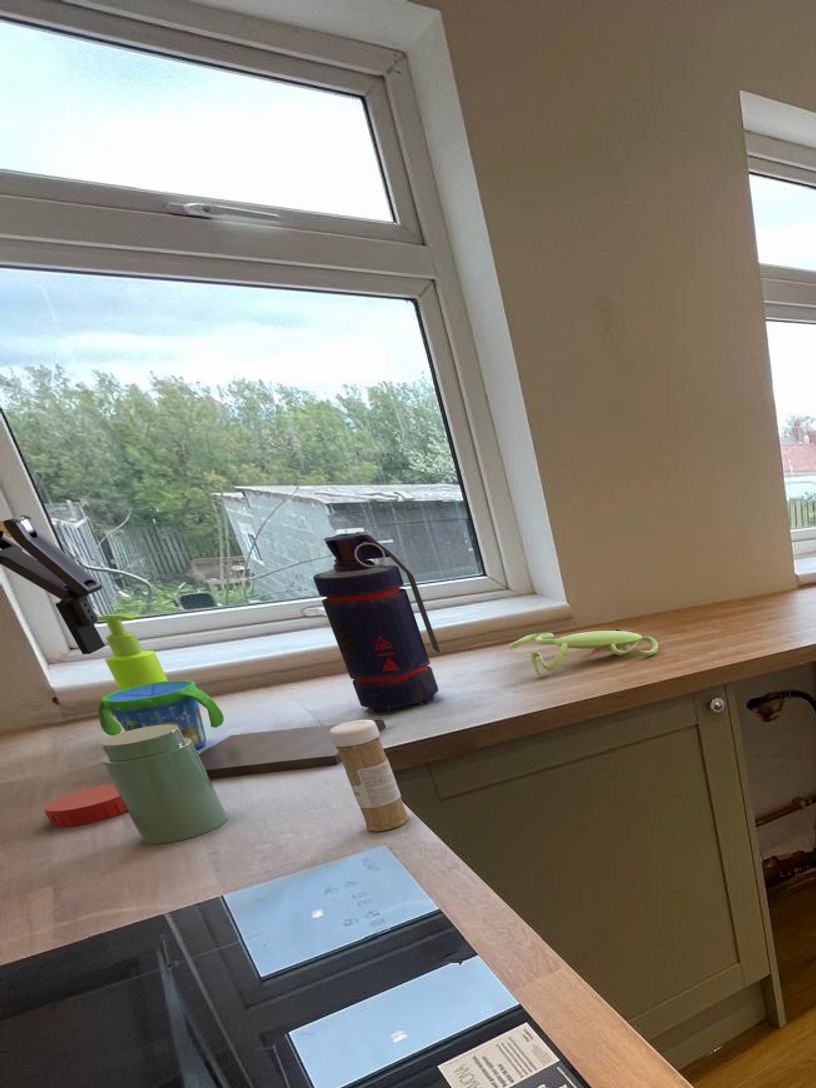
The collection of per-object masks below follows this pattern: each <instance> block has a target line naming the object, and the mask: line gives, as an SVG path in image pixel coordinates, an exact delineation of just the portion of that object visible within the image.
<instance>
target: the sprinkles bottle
mask: <svg viewBox="0 0 816 1088" xmlns="http://www.w3.org/2000/svg"><path fill="white" fill-rule="evenodd" d="M372 720H373V719H358V720H351V721H347V722H343V724H342V723H339V724H340V725H337V726H335V727H333V728H332V729H331V730H330V731H329V734H330V737H331V740H332V742H333V744H334V745H335V746H336V748H337V749H338V752H339V755H340V757H341V759H342V762H341V763H342V765H343V767H344V770H345V774H346V777H347V779H348V782H349V784H350V787H351V789H352V792H353V795H354V797H355V800H356V802H357V805H358V807H359V808H360V811H361V814H362V816H363V819H364V822H365V827H366V829H367V830H368V831H370V832H383V831H387V830H392V829H394V828H398V827H400V826H402V825H404V824H406V823H407V822H408V821H409V819H410V814H409V813H408V812H407V811H406V807H405V805H404V803H403V799H402V796H401V792H400V789H399V786H398V783H397V781H396V778H395V775H394V772H393V770H392V766H391V764H390V761H389V759H388V757H387V755H386V753H385V750H384V747H383V745H382V741H381V737H380V735H381V734H380V733H381V732H379V731H378V728H377V726H376V723H375V722H374V721H372Z"/></svg>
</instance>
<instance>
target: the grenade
mask: <svg viewBox="0 0 816 1088" xmlns="http://www.w3.org/2000/svg"><path fill="white" fill-rule="evenodd" d="M323 541H324V542H325V544H326V546H327V548H328V550H329V551H330V553H331V554H332V556H333V557H334V558H335V559H334V560H333V562H334V564H333V565H332V566H333V568H332V569H329V570H327V571H324V572H320V573H316V574H314V575H313V577H312V579H313V582H314V585H315V587H316V590H317V592H318V595H319V596H320V597H323V598H324V599H322V600H321V604H322V606H323V609H324V611H325V615H326V616H327V619H328V622H329V626H330V628H331V630H332V632H333V635H334V636H333V637H334V638H335V641H336V644H337V646H338V649H339V652H340V654H341V657H342V659H343V662H344V665H345V669H346V671H347V673H348V676H349V679H351V680H352V685H353V688H354V690H355V693H356V697H357V699H358V702H359V705H360V706H362V707H363V708H368V709H371V710H372V712H373V713H374V714H379V715H381V714H388V713H389V712H390V709H392V708H400V707H405V706H409V705H413V704H416V703H421V705H423V706H424V705H425V706H426V705H428V704H431V703H432V702H434V701H435V697H434V695H436V694H437V693H438V692H439V686H438V684H437V680H436V678H435V675H434V672H433V668H432V667H431V666H429V665H431V661H430V659H429V655H428V653H427V649H426V646H425V644H424V639H423V637H422V634H421V631H420V629H419V626H418V622H417V619H416V616H415V613H414V609H413V607H412V604H411V601H410V598H409V594H408V591H407V589H405V588H401V587H402V586H404V584H405V583H404V580H403V577H402V573H401V570H402V571H403V572H404V574H406V576H407V579H408V582H409V585H410V587H411V590H412V593H413V596H414V598H415V602H416V604H417V607H418V609H419V613H420V615H421V618H422V621H423V624H424V626H425V630H426V632H427V636H428V638H429V640H430V643H431V646H432V649H433V650H434V651H435V652H436V653H440V652H441V649H440V647H439V645H438V641H437V639H436V635H435V633H434V630H433V628H432V625H431V622H430V619H429V615H428V613H427V611H426V608H425V605H424V602H423V599H422V597H421V594H420V590H419V588H418V585H417V582H416V579H415V577H414V574H412V572H411V571H410V570H409V569H408V568H407V567H406V566H405V565H404V564H403V563H402V562H401V561H400V560H399V559H398V558H397V557H396V556H395V555H394V554H393V553H392V552H391V551H390V550H388V549H387V548H386V547H385V546H384V545H382V544H381V543H380V542H379V541H377V540H376V539H375V538H374V537H373V536H371V535H370V534H369V533H367V532H366V531H356V532H352V533H340V534H336V535H334V536H328V537H324V539H323ZM386 558H390V559H391V560H392V561H393V562H394V563H395V565H394V564H384V563H385V560H386ZM374 559H375V560H376V559H382V560H381V561H380V563H375V562H374V561H373V560H374ZM397 565H398V566H397ZM400 569H401V570H400Z"/></svg>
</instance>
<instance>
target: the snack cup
mask: <svg viewBox="0 0 816 1088" xmlns="http://www.w3.org/2000/svg"><path fill="white" fill-rule="evenodd" d="M199 705H201V706H203V707H204V708H206V710H207V713H208V719H209V722H210V726H211V728H215V729H216V728H219V727H220V726H221V725H223V723H224V721H225V719H224V718H225V717H224V714H223V712H222V710H221V709H220V708H219V706H218V704H217V703H216V702H215V701H214V700H213V699H212V698H211V697H210V695H209V694H207V693H206V692H205V691H203V690H201V689H199V688H198V687H197V685H196V683H195V681H192V680H187V679H178V680H176V679H175V680H168V681H164V682H157V683H150V684H145V685H140V686H135V687H130V688H126V689H123V690H120V689H119V690H117V691H116V690H115V691H113V692H111V693H108V694H106V695H104V696H103V697H102V698H101V700H100V702H99V703H98V705H97V706H98V707H97V714H98V720H99V724H100V727H101V729H102V730H103V732H104V733H105V734H107V735H108V736H113V735H116V734H119V733H122V732H123V729H124V732H126V731H130V730H134V729H138V728H143V727H149V726H156V725H176V726H178V728H179V730H180V732H181V734H182V736H183V738H189V739H191V740H192V743H193V745H194V747H195V749H196V750H197V749H198V748H201V747H202V746H203V745H204V744H205V743H206V742H207V736H206V735H207V734H206V731H205V725H204V722H203V717H202V715H201V710H200V706H199ZM113 715H114V716H113Z"/></svg>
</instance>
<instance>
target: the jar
mask: <svg viewBox="0 0 816 1088" xmlns="http://www.w3.org/2000/svg"><path fill="white" fill-rule="evenodd" d="M100 750H103V752H104V753H105V756H103V757H102V758H101V763H102V765H103V767H104V769H105V771H106V773H107V775H108V776H109V778H110V780H111V782H112V784H114V786H115V788H116V790H117V792H118V794H119V796H120V798H121V799H122V801H123V803H124V805H125V807H126V809H127V812H128V815H129V817H130V819H131V821H132V822H133V824H134V826H135V828H136V830H137V832H138V834H139V835H140V838H141V839H142V841H143V842H144V843H145V844H149V845H164V844H170V843H177V842H180V841H184V840H187V839H192V838H195V837H197V836H201V835H203V834H205V833H209V832H210V831H213V830H215V829H217V828H219V827H220V826H222V825H224V824H225V823H226V821H227V820H228V815H227V813H226V811H225V808H224V806H223V804H222V802H221V800H220V798H219V796H218V794H217V792H216V789H215V787H214V785H213V783H212V781H211V779H209V777H208V774H207V772H206V770H205V768H204V766H203V764H202V762H201V760H200V757H199V755H198V754H199V753H198V751H197V748H196V749H195V747H194V745H193V743H192V740H191V739H189V738H183V736H182V734H181V732H180V730H179V728H178V726H176V725H156V726H149V727H143V728H138V729H134V730H130V731H121V732H120V733H119V734H116V735H110V736H109V737H106V738H105V739H102V740H101V742H100Z"/></svg>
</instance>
